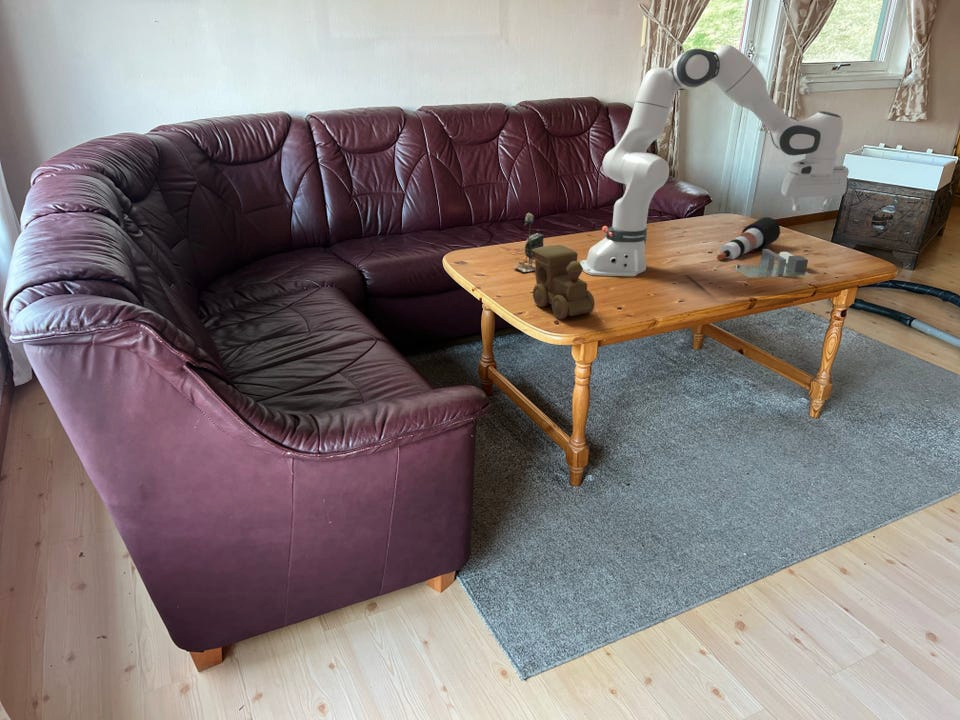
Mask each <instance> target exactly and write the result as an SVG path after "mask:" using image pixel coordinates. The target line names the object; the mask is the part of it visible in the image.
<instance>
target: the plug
mask: <svg viewBox="0 0 960 720" xmlns="http://www.w3.org/2000/svg"><path fill="white" fill-rule="evenodd" d="M778 255H779V256H781V257H783V258H784V259H786V264H787V268H789V269H790V270H792V271H794V272H805V271H806V272H807V269H808V268H807V267H808V263H809V259H807V258H806V257H804V256H802V255H793V254H791V253H790V252H788V251H780V252H779V254H778Z"/></svg>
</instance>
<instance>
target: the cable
mask: <svg viewBox="0 0 960 720" xmlns="http://www.w3.org/2000/svg"><path fill="white" fill-rule="evenodd" d="M780 234H781V227H780V225H779V223H778V221H777V220H776V219H774V218H771V216H770V217H768V216H767V217H762V218H760V219H758V220H756V221H754V222H752V223H750V224H749V225H747V226H745V227H744V228H743V230H742V232H741V234H738V235H737V236H735V238H733V239H731V240H730V241H728V242H727V243H725V244H724V245H722V246H721V248H720V249H719V254H718V255H717V256H716V260H717V261H723V260H724V259H729V260H730V259H731V260H735V259H736V258H739V257H740V256H743V255H745V254H748V253H749V252H751V251H754V250H755V251H754V252H758V251H760V250H761V251H762V250H763V249H765V248H766V247H767V246H769V245H771V244H773V243H774V242H776V241H777V240H778V239H779V237H780Z"/></svg>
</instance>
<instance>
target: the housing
mask: <svg viewBox="0 0 960 720" xmlns="http://www.w3.org/2000/svg"><path fill="white" fill-rule="evenodd" d="M761 251H762V252H761V257H760V261H759V264H748V265H747V264H746V265H740V264H735V265H732V268H734V269H735V270H737V271H738V272H740V273H741V274H742V275H744V276H745V277H747V278H748V279H749V278H767V277H769V278H771V277H772V278H774V277H798V276H799V277H801V276H812V274H811V273H809V272H807V270H806V271H805V272H794V271H792V270H790V269H789V268H787V263H786V259H784V258H783V257H781V256H779V255H780V254H777V253H776V252H774V251H772V250H771V249H770V248H763V249H761ZM775 260H776V261H777V263H775Z"/></svg>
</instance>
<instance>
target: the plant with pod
mask: <svg viewBox="0 0 960 720" xmlns="http://www.w3.org/2000/svg"><path fill="white" fill-rule="evenodd" d="M534 218H535V217H534V215H533V214H532V213H530V212H528V213H526V214H525V217H524V222H525V223H524V226H526V225H529V227H528V228H529V229H528V237H527V239H526V241H525V245H524V255H525V256H526V257H525V258H526V259H525V260H521V261H519V263H518V264H516V265H515V266H514V267H513V269H517V270H519V271H520V272H523V273H527V272H528V273H529V272H533V271H535V265H533V261H535V260H534V259H533V258H532V249H535V248H538V247H544V235H545V234H544V233H543V234H541V233H537V232H536V233H533V234H532V235H531V229H532V227H531V225H533V222H534ZM527 259H528V260H527ZM532 265H533V266H532Z"/></svg>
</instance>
